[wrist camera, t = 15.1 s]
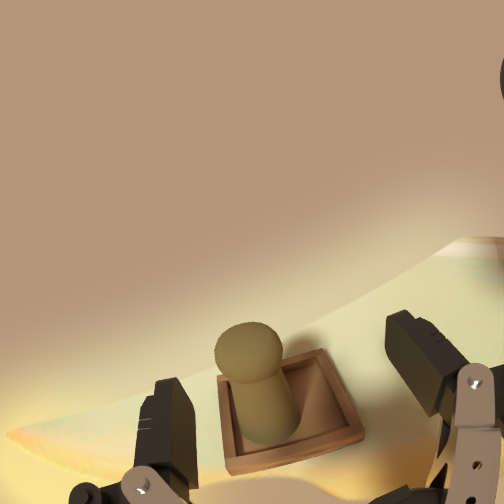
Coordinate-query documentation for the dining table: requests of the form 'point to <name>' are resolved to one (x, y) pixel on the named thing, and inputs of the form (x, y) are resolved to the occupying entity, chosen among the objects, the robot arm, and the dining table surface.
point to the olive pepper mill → (258, 382)
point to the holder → (311, 425)
